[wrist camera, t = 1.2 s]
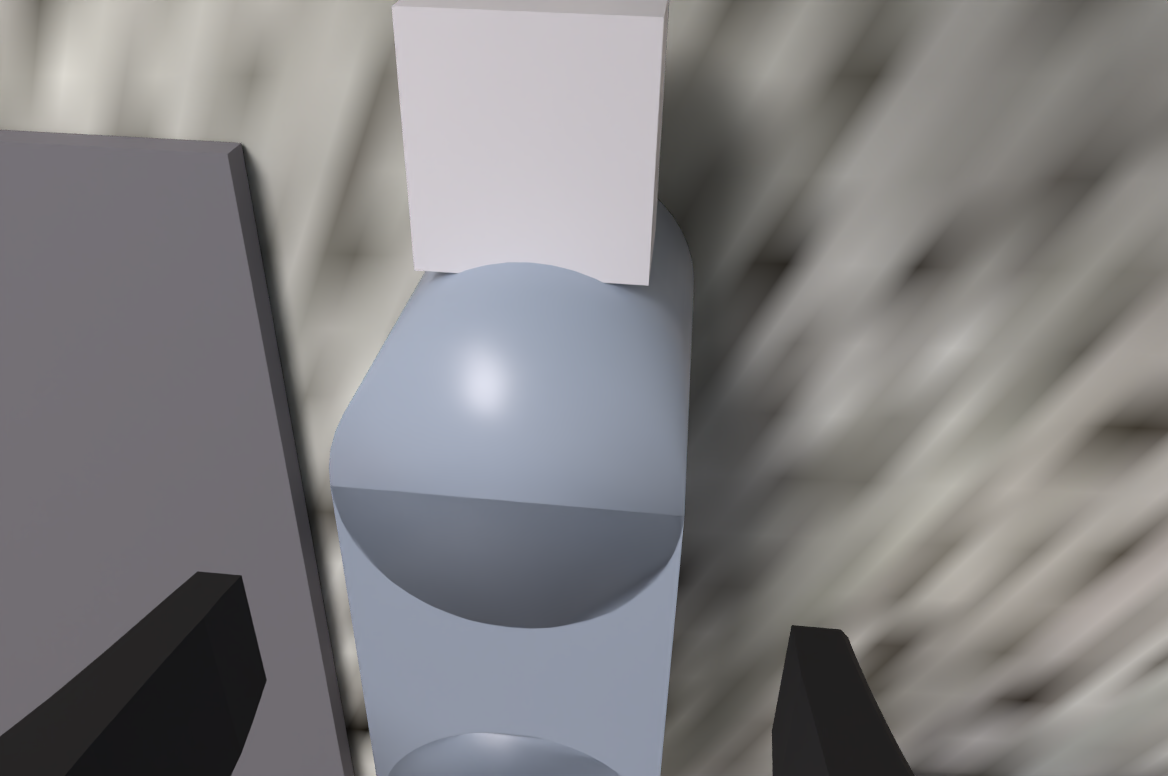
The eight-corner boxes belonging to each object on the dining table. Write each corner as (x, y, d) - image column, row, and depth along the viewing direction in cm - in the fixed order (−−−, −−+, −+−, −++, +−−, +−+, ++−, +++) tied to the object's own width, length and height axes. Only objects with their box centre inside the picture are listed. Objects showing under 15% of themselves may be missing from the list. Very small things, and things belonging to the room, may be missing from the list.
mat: (357, 792, 23) (350, 811, 23) (-108, 740, 24) (-122, 757, 24) (240, 142, 15) (227, 154, 14) (-471, 104, 16) (-504, 113, 15)
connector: (662, 644, 20) (647, 915, 15) (467, 626, 20) (393, 884, 15) (721, -40, 13) (726, 69, 8) (421, -51, 13) (261, 49, 8)
